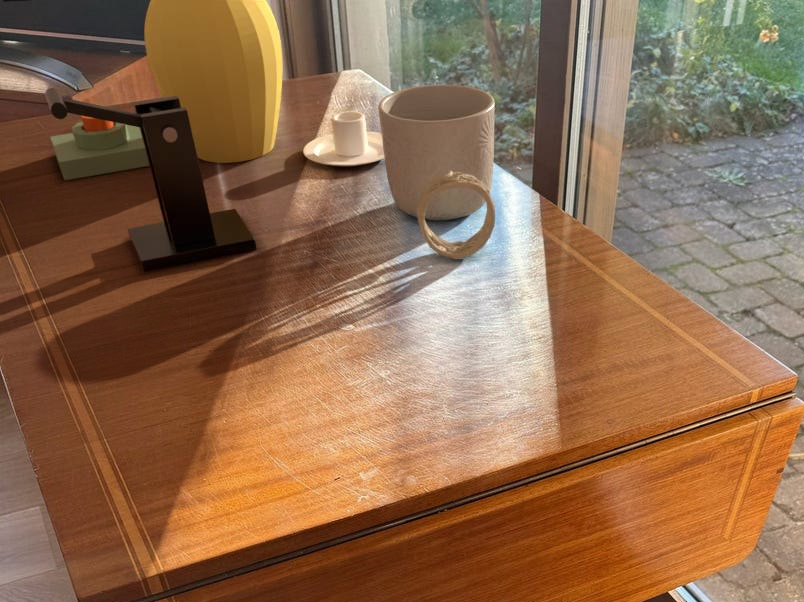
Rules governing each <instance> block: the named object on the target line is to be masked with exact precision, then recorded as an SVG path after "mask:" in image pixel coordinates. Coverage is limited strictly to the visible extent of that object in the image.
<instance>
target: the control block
mask: <svg viewBox="0 0 804 602" xmlns="http://www.w3.org/2000/svg"><path fill="white" fill-rule="evenodd" d="M113 124H114V127H113V128H110V129H107V130H103V131H97V132H96V131H85V130H84V126H83V123H82V121H78V122H76V123H75V124H74V125H73V126H72V127H71V131H72V132H71V133H70V132H69V133H65V134H58V135H51V136H49V139H50V142H51V145H52V149H53V151H54V155H55V158H56V161H57V163H58V166H59V169H60V172H61V174H62V177H63V180H64V181H70V180H75V179H81V178H88V177H92V176H93V177H94V176H99V175H104V174H110V173H116V172H123V171H127V170H128V171H129V170H133V169H140V168H145V167H150V166H149V162H148V159H147V155H146V151H145V147H144V143H143V139H142V135H141V131H140V127H135V126H130V125H125V124H121V123H116V122H113Z"/></svg>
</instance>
